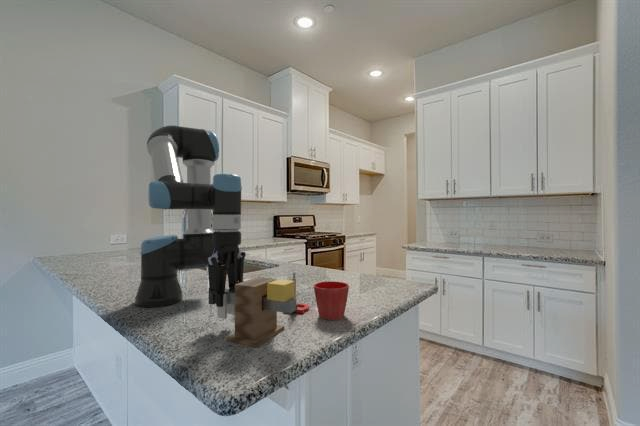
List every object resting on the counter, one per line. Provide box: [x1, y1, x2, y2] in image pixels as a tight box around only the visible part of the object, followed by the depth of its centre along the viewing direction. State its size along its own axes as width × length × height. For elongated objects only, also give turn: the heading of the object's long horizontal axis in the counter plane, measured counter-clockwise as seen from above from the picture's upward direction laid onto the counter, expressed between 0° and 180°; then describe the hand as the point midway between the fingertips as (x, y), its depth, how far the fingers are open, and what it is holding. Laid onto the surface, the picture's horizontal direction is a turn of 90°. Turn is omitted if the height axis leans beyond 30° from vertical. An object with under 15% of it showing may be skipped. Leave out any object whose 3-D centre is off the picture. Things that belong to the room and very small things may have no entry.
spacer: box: [267, 278, 295, 302], centre depth 77 cm, size 5×5×4 cm
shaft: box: [208, 288, 297, 314], centre depth 81 cm, size 26×4×4 cm, turn 65°
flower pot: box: [313, 280, 350, 321], centre depth 95 cm, size 11×11×10 cm
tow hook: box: [291, 272, 310, 315], centre depth 102 cm, size 8×13×9 cm
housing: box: [225, 276, 285, 348], centre depth 81 cm, size 9×13×14 cm
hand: (226, 315), depth 85 cm, fingers closed on shaft, 3 cm apart
